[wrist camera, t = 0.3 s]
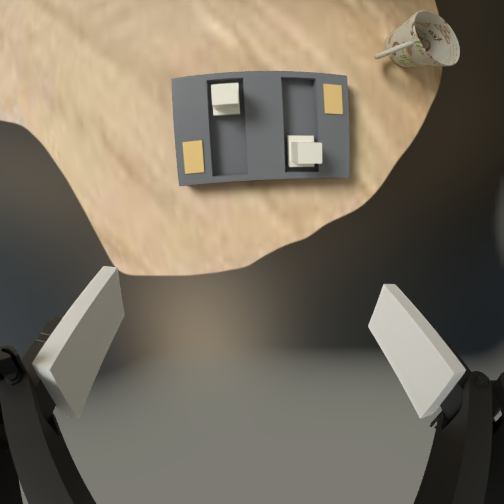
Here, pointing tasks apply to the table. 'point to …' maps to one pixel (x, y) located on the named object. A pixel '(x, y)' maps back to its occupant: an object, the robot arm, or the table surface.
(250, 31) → the table surface
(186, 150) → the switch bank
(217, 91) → the tab
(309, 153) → the tab
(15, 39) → the table surface
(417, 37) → the mug
